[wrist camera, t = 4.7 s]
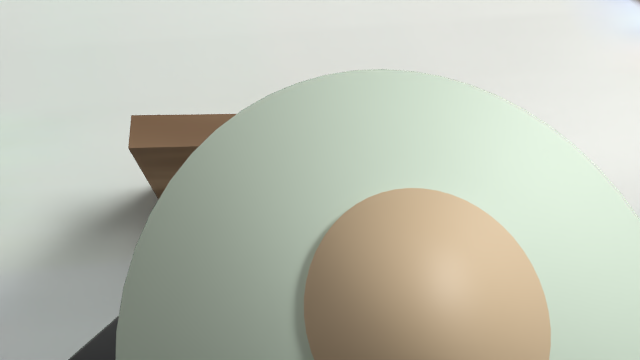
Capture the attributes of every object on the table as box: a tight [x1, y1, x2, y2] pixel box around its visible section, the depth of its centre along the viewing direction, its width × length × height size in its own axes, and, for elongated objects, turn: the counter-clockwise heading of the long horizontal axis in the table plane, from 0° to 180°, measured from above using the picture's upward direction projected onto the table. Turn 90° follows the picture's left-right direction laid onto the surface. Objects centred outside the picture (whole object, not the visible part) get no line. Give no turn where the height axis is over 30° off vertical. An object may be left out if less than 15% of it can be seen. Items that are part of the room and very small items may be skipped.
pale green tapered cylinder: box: [116, 69, 640, 360], centre depth 9 cm, size 5×5×12 cm
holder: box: [128, 114, 236, 199], centre depth 20 cm, size 10×13×7 cm
